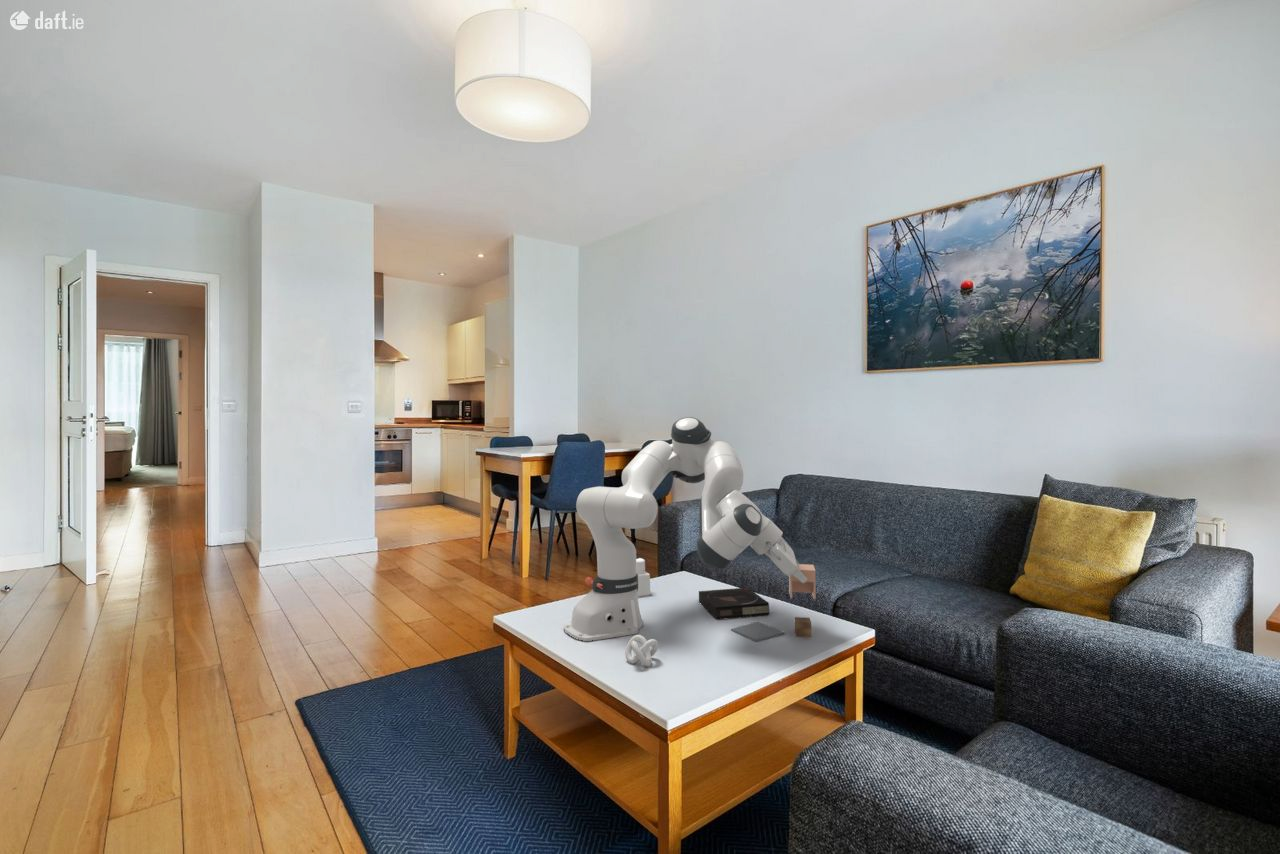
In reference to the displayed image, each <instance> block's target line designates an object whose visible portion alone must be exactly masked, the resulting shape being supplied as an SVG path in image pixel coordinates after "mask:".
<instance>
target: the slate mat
mask: <svg viewBox="0 0 1280 854" xmlns="http://www.w3.org/2000/svg"><path fill="white" fill-rule="evenodd" d="M730 631H731V632H733V633H735V634H737V635H740V636H743V638H747V639H749V640H751V641H753V642H756V643H757V642H761V641H765V640H768V639H771V638H774V637H778V636H781V635H784V634H785V632H784V631H783V630H780V629H777V628H775V627H773V626H769V625H768V624H764V623H762V622H760V621H756V622H751V623H748V624H744V625H740V626H737V627H733V628H730Z"/></svg>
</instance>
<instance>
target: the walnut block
mask: <svg viewBox="0 0 1280 854" xmlns="http://www.w3.org/2000/svg"><path fill="white" fill-rule="evenodd" d="M793 621H794V634H795V638H812V621H811V618H810V617H805V616H804V617H803V616H801V617H799V616H794V620H793Z"/></svg>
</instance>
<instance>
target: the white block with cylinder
mask: <svg viewBox="0 0 1280 854" xmlns="http://www.w3.org/2000/svg"><path fill="white" fill-rule="evenodd" d="M636 573H637V574H638V592H637V595H638V598H640V597H647V596H648V597H649V596H651V574H650V573H648V572H647V571H646V560H645V558H643V557H641V556H636Z"/></svg>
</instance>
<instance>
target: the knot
mask: <svg viewBox="0 0 1280 854" xmlns="http://www.w3.org/2000/svg"><path fill="white" fill-rule="evenodd" d="M638 642H639V643H640V644H641V647H640V646H639V643H638ZM658 649H659V642H658V641H657V640H656V639H654V638H650V639H648V640H647V639H646V637H644V636H643V635H642V634H634V635H633V636H632V637H631V638H630V639H629V640H628V642H627V645H626V647H625V659H626V661H627V662H628V663H629V664H631V665H635V664H637V663H639V662H640V663H641V664H642V665H643V666H645V667H647V668H648V667H650V666H651V665H652V663H653V661H652V660H653V659H652V657H653V656H654V655H656V652H657V651H658ZM632 651H633V652H634V656H632Z"/></svg>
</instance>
